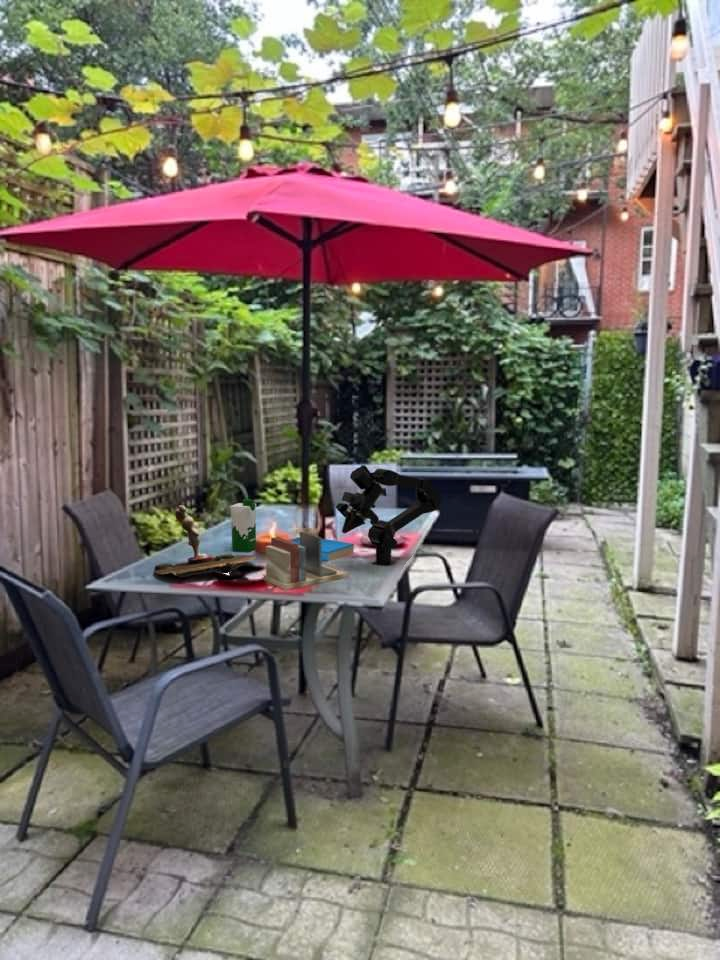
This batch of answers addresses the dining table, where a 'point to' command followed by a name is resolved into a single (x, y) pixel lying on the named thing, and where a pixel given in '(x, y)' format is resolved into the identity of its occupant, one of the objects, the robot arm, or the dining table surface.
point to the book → (332, 548)
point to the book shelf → (292, 566)
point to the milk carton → (243, 526)
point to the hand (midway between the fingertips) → (343, 532)
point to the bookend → (314, 555)
